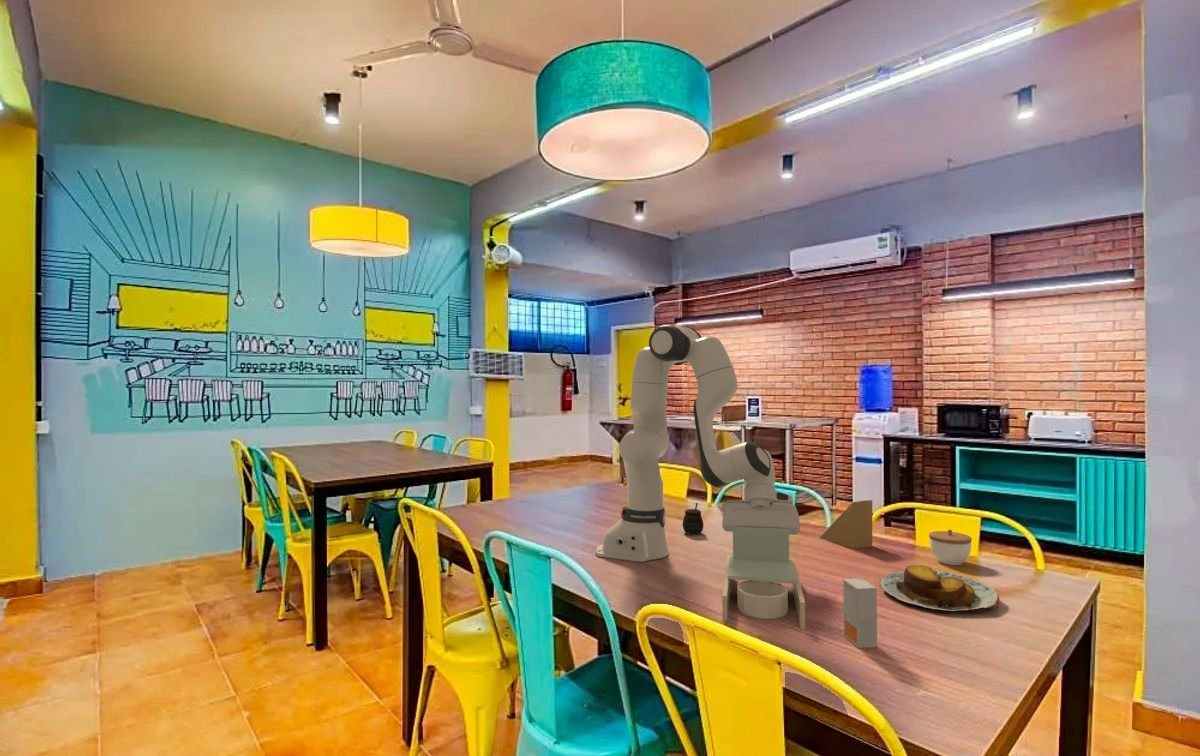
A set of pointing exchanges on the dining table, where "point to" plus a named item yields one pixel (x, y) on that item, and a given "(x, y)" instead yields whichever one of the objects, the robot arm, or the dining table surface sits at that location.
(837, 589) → the dining table surface
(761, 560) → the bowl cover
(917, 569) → the food on plate
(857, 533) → the sandwich container
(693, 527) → the mate gourd
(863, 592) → the skincare box
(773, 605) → the bowl stand
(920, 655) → the dining table surface
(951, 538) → the lidded jar
